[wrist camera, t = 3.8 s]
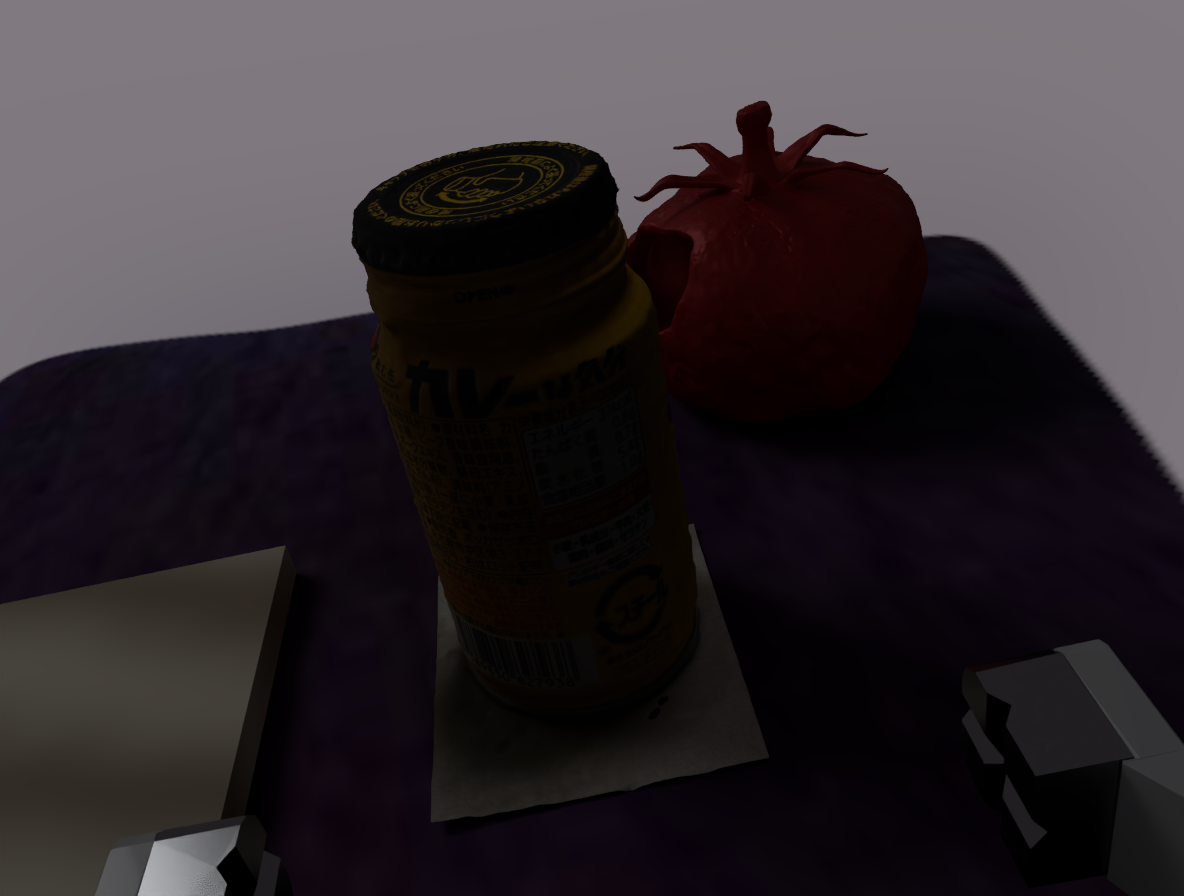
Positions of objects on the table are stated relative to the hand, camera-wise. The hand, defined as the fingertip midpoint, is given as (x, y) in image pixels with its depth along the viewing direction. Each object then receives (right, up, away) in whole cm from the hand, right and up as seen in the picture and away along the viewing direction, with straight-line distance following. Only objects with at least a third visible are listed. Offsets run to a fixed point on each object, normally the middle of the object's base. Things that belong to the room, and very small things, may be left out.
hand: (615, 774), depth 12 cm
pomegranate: (+6, +6, +24) cm, 26 cm away
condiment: (-1, -2, +14) cm, 14 cm away
